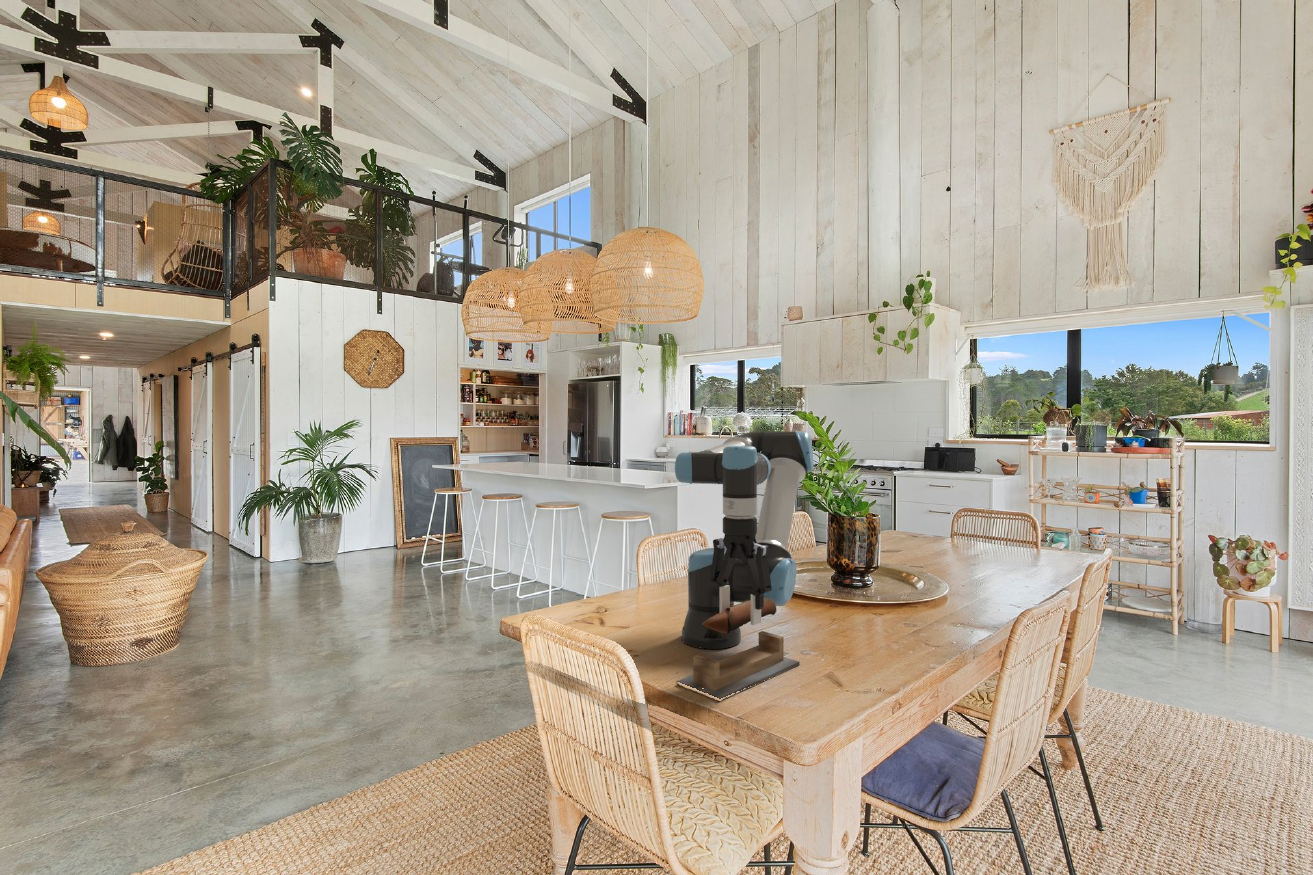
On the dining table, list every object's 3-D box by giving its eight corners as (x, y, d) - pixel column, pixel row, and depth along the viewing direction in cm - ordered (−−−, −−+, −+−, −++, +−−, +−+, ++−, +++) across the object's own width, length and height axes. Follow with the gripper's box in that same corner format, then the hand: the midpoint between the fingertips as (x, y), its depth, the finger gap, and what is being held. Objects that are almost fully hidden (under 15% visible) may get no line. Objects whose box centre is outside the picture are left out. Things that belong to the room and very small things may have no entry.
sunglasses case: (745, 607, 155) (757, 585, 153) (767, 627, 151) (780, 605, 149) (698, 624, 142) (711, 601, 139) (721, 647, 138) (735, 623, 135)
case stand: (676, 684, 140) (676, 655, 140) (757, 652, 160) (757, 626, 160) (719, 701, 132) (719, 670, 132) (799, 665, 151) (799, 637, 151)
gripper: (693, 513, 150) (693, 612, 150) (768, 523, 135) (768, 633, 135) (715, 510, 155) (715, 606, 155) (789, 519, 140) (789, 625, 140)
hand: (740, 619), depth 145 cm, fingers closed on sunglasses case, 8 cm apart
